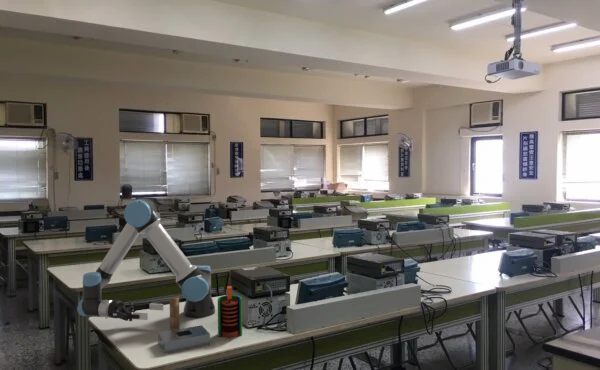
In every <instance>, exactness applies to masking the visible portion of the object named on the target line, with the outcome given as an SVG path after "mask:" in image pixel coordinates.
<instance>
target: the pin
mask: <svg viewBox="0 0 600 370" xmlns="http://www.w3.org/2000/svg"><path fill="white" fill-rule="evenodd" d="M180 321H181V319H180V297H179V296H171V297H169V331H170V330H176V329H181V327H180V325H181V324H180Z"/></svg>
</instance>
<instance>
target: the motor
mask: <svg viewBox="0 0 600 370" xmlns="http://www.w3.org/2000/svg"><path fill="white" fill-rule="evenodd" d="M232 290H233V289H232V286H230V285H229V286H226V294H227V295H222V296H219V297H218V298H217V335H218V336H217V337H218V338H220V337H222V338H225V339H233V338H237V337H238V336H239V337H240V336H243V297H242V296H240V295H237V294H236V295H235V294H233V292H232Z"/></svg>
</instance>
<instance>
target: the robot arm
mask: <svg viewBox="0 0 600 370" xmlns="http://www.w3.org/2000/svg"><path fill="white" fill-rule="evenodd" d="M123 217H124V220H125V222H126V224H125V225H124V227H123V229H122V230H121V231H120V233H119V235H118V236H117V238H116V239H115V240H114V242H113V244H112V246H111V247H110V248H109V250H108V251H107V254H105V256H104V258H103V260H102V261H101V263H100V264H99V266H98V267H97V269H96V270H95V271H91V272H87V273H84V274H83V275H82V292H83V297H82V299H80V300H79V302H78V306H77V310H76V311H77V313H78V314H79V316H83V317H88V318H89V317H92V318H93V317H95V318H105V319H108V318H111V319H120V320H122V321H127V322H128V321H129V322H133V320H138V321H140V320H141V321H142V320H143V321H147V320H148V313H147V312H137V311H144V310H149V311H164V303H153V302H152V301H151V300H149V301H140V302H129V303H127V304H125V303H123V301H122V300H113V299H102V289H103V288H104V287H105V286H107V285H108V284H109V283H110V282H111V279H112V277H113V275H114V274H115V272H116V271H117V269H118V268H119V267H120V264H121V262H122V261H123V260H124V259H125V257H126V255H127V254H128V253H129V250H130V249H131V247H132V246H133V245H134V243H135V242H136V240H137V238H138V237H139V235H143V236H145V237H146V239H147V240H148V241H149V242H148V243H150V244H151V245H152V247H153V248H154V249H155V251H156V252H157V253H158V255H159V256H160V258H161V259H163V261H164V263H165V264H166V265H167V266H168V268H169V269H170V271H171V272H172V273H173V274H174V276H175V282H176V284H177V285H178V286H179V288H180V289H181V294H182V295H183V297H184V299H186V300H185V303H184V306H183V315H184V316H185V317H190V318H204V317H208V316H212V315H213V314H215V313H216V306H215V303H214V299H213V298H212V271H211V266H210V265H195V264H192V263H191V262H190V260H189V259H188V257H187V256H186V255H185V254H184V252H183V251H182V250H181V249H180V247H179V246H178V244H177V243H176V242H175V240H174V239H173V238H172V237H171V235H170V234H169V233H168V231H167V230H166V228H165V227H164V226H163V225H162V224H161V219H162V218H161V216H160V215H159V214H158V212H157V207H156V204H155V202H154V201H153V200H152V199H150V198H145V197H141V198H137V199H133V200H132V201H130V202H129V203H128V204H127V205H126V206H125V208H124V211H123Z"/></svg>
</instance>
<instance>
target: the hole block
mask: <svg viewBox="0 0 600 370" xmlns="http://www.w3.org/2000/svg"><path fill="white" fill-rule="evenodd" d="M157 335H158V337H157V338H158V339H157V340H158V345H159V347H160V349H161V350H162V351H163V353H164V354H168V353H170V354H171V353H175V352H180V351H185V350H192V349H196V348H202V346H203V347H208V346H211V333H210V332H209V331H208V330H207V329H206V328H205V327H204V326H203V325H201V324H200V325H197V326H196V325H195V326H190V327H183V328H180V329H176V330H170V329H169V330H166V331H165V330H164V331H160V332H159V331H158V333H157ZM207 345H208V346H207Z"/></svg>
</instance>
